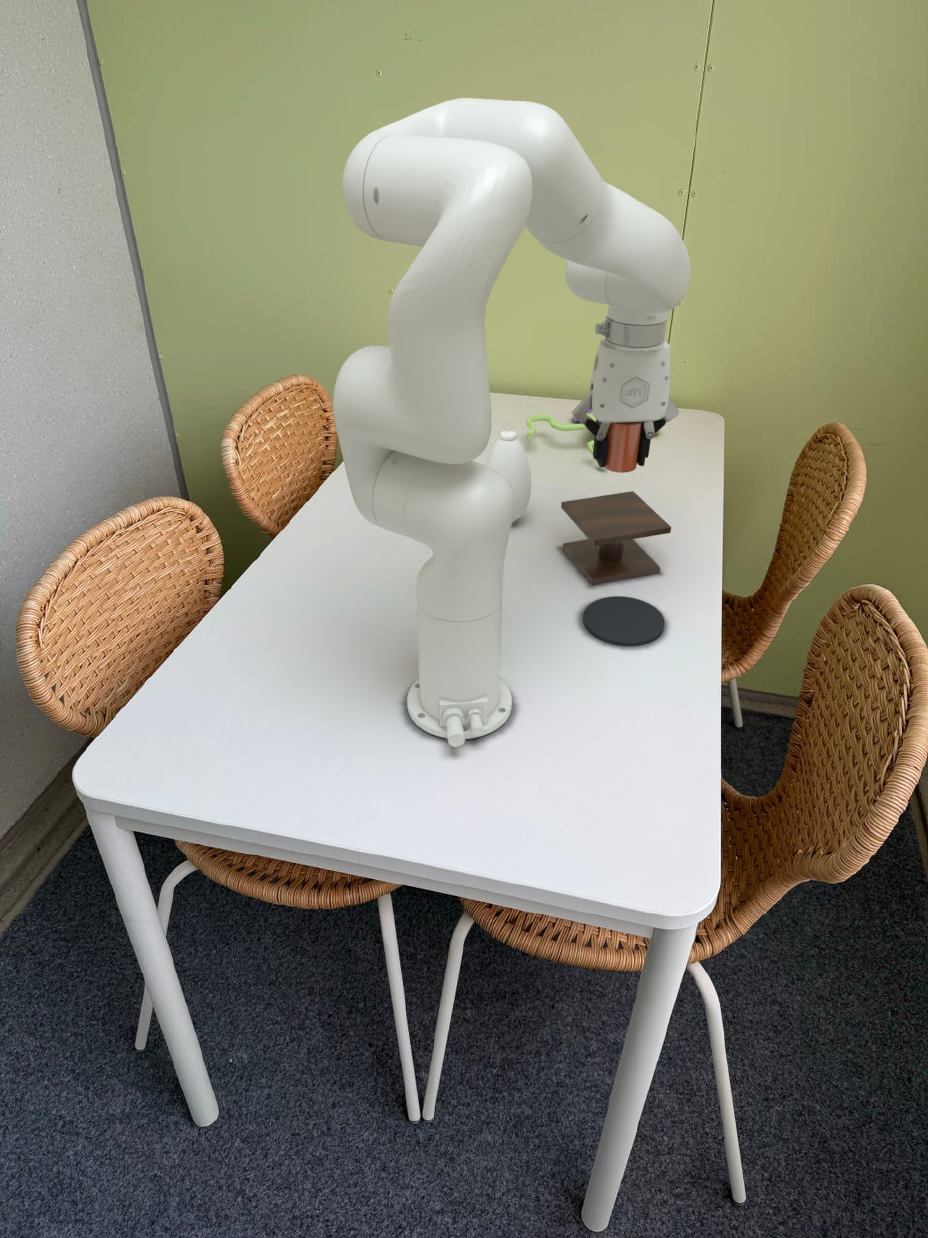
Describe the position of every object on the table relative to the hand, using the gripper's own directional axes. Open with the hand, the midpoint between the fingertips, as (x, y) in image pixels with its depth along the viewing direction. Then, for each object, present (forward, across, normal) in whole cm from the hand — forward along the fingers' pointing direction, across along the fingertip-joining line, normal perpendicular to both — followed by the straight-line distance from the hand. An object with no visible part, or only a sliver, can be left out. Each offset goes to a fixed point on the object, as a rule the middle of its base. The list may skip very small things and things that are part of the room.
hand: (619, 461), depth 122 cm
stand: (+16, 0, 0) cm, 17 cm away
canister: (+1, 0, 0) cm, 1 cm away
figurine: (+16, +8, +44) cm, 48 cm away
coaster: (+17, -2, -15) cm, 23 cm away
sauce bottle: (+17, -14, +15) cm, 26 cm away
